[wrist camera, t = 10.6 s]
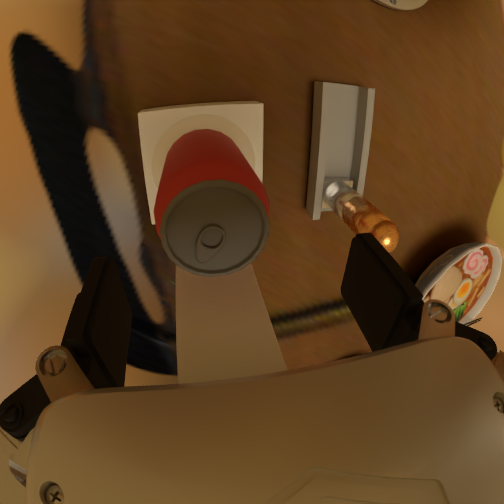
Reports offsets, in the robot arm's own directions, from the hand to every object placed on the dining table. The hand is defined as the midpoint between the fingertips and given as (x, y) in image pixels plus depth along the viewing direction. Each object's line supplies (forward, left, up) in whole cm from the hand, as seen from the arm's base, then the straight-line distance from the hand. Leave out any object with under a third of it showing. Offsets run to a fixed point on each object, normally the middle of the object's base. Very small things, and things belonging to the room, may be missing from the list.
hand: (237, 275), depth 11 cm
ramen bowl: (+22, +37, -20) cm, 47 cm away
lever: (+5, +13, -18) cm, 23 cm away
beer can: (0, 0, -16) cm, 16 cm away
